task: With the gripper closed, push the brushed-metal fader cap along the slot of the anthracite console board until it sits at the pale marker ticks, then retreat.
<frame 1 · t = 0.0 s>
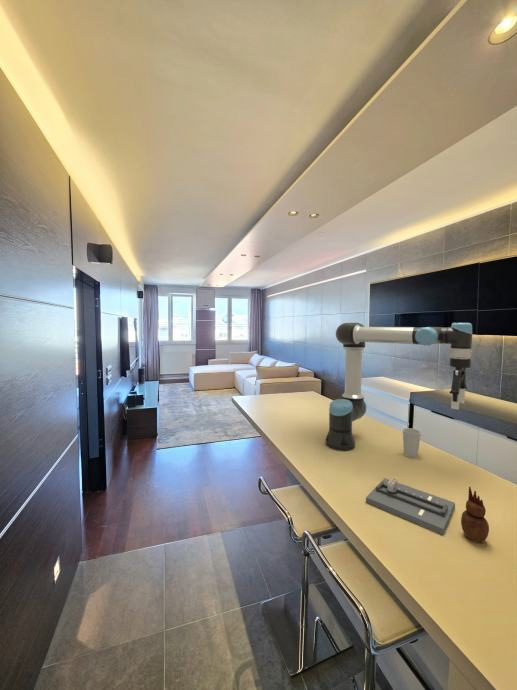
hand: (457, 405, 130), 28 cm above the breakfast bar, fingers open, 13 cm apart
wooden figurine: (473, 538, 88), on the breakfast bar
fader: (392, 486, 108), point 4 cm above the breakfast bar, slide at -6.0 cm
console: (409, 505, 104), on the breakfast bar
cup: (410, 455, 145), on the breakfast bar
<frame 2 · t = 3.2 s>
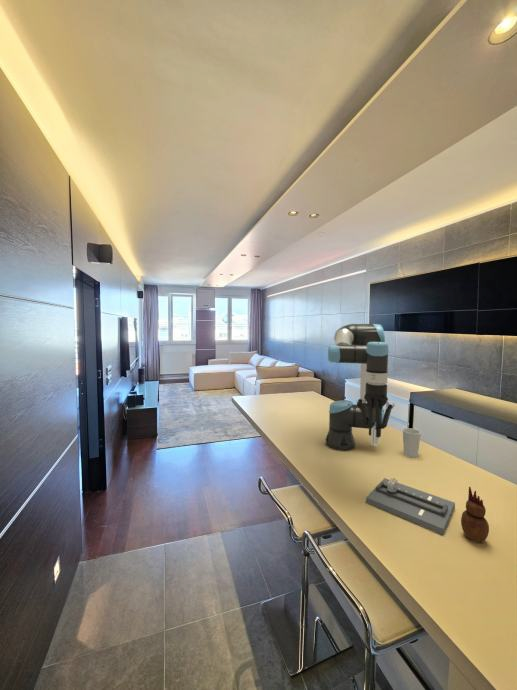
hand: (374, 444, 112), 18 cm above the breakfast bar, fingers closed
nothing on the breakfast bar moved.
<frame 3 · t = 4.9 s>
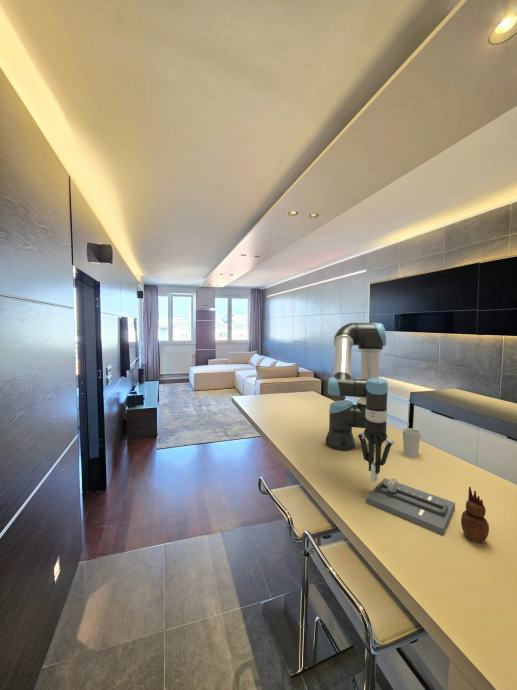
hand: (373, 480, 113), 4 cm above the breakfast bar, fingers closed
nothing on the breakfast bar moved.
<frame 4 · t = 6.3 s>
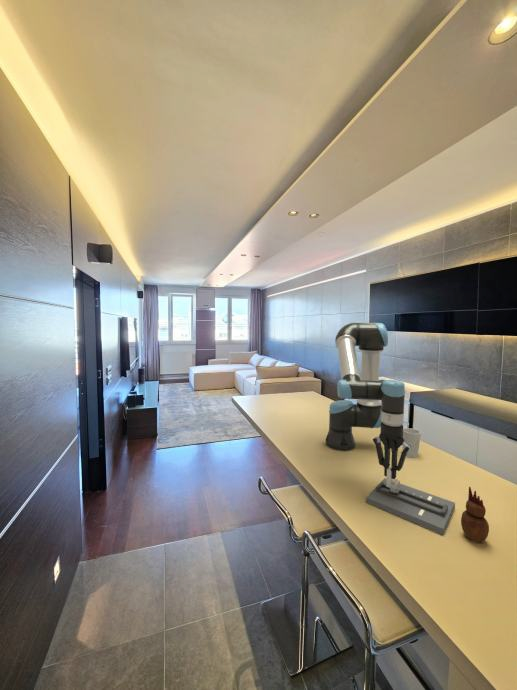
hand: (389, 485, 108), 5 cm above the breakfast bar, fingers closed
fader: (394, 487, 107), point 4 cm above the breakfast bar, slide at -5.1 cm, touching gripper
everything else where it was.
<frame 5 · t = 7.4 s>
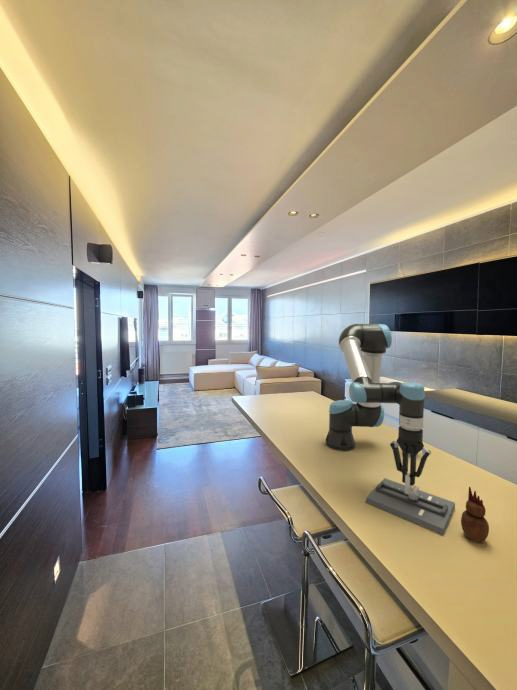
hand: (408, 492, 104), 5 cm above the breakfast bar, fingers closed
fader: (413, 494, 103), point 4 cm above the breakfast bar, slide at 1.1 cm, touching gripper
everything else where it was.
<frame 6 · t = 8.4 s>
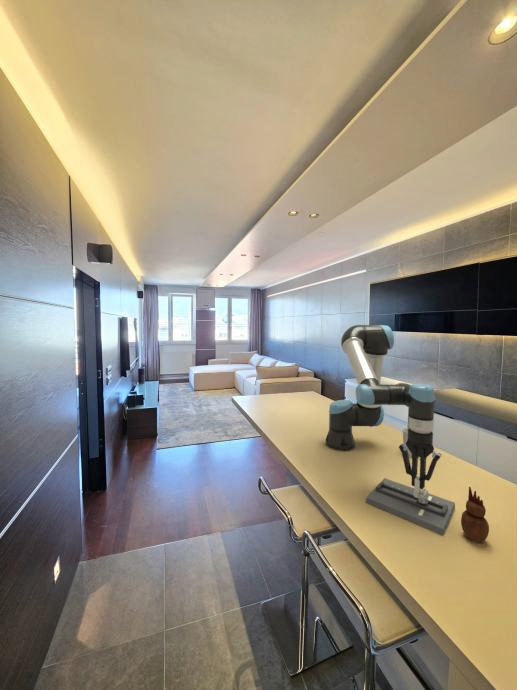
hand: (417, 496, 102), 4 cm above the breakfast bar, fingers closed
fader: (423, 498, 101), point 4 cm above the breakfast bar, slide at 4.2 cm, touching gripper
everything else where it was.
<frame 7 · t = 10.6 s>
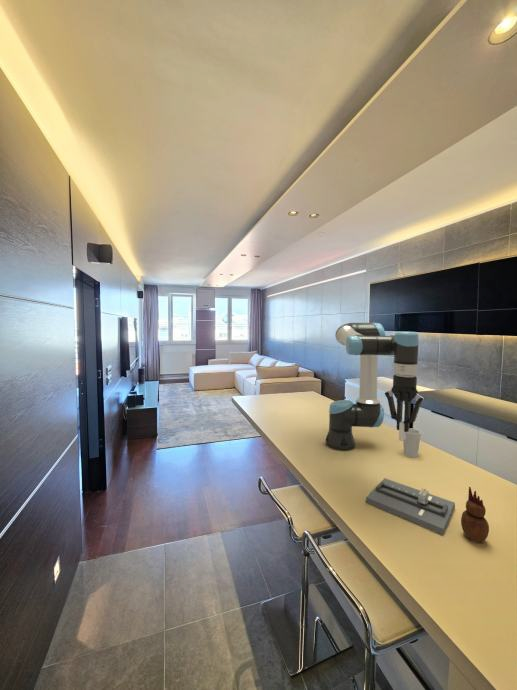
hand: (402, 439, 106), 22 cm above the breakfast bar, fingers closed
fader: (423, 498, 101), point 4 cm above the breakfast bar, slide at 4.2 cm
everything else where it was.
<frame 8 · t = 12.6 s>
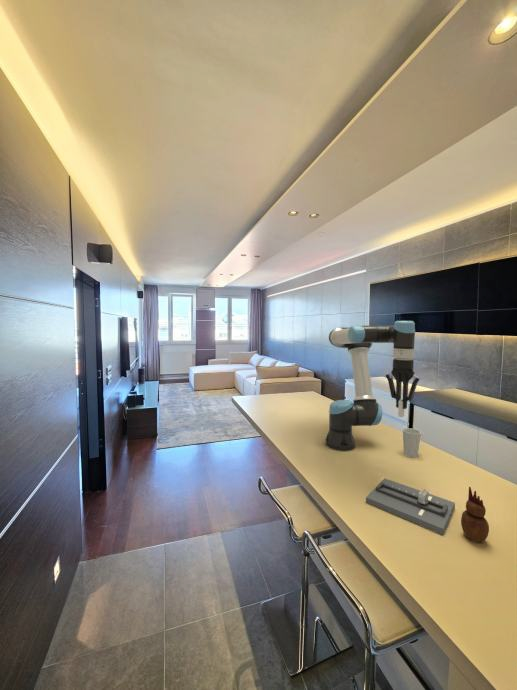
hand: (401, 415, 121), 26 cm above the breakfast bar, fingers closed
nothing on the breakfast bar moved.
at the end: fader slide at 4.2 cm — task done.
